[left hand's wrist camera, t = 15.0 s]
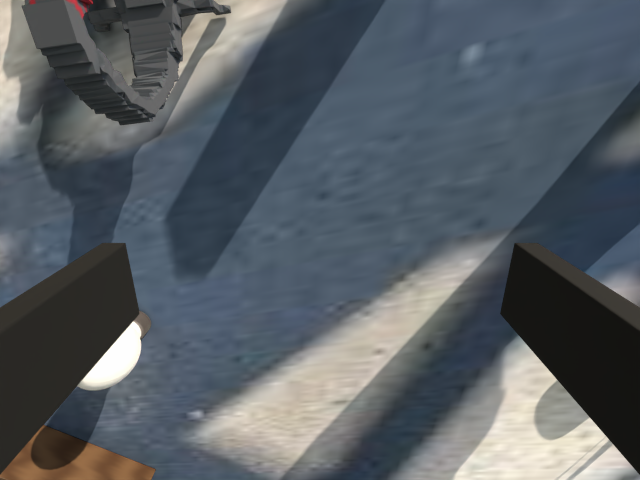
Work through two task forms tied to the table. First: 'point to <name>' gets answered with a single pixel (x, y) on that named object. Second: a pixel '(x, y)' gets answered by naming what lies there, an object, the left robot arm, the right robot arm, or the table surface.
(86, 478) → the bar
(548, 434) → the table surface
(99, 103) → the toy
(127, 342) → the light bulb
